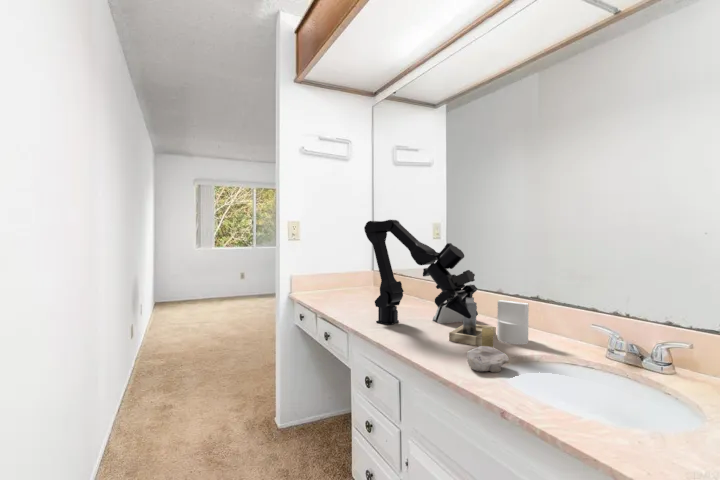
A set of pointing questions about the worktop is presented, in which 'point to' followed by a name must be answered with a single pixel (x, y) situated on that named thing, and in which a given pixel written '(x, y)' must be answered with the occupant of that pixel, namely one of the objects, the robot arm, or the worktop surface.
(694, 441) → the worktop surface
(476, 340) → the block
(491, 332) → the square bit
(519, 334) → the cylinder with rectangular tab
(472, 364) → the fossil
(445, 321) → the grey curved block
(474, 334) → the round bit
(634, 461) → the worktop surface
